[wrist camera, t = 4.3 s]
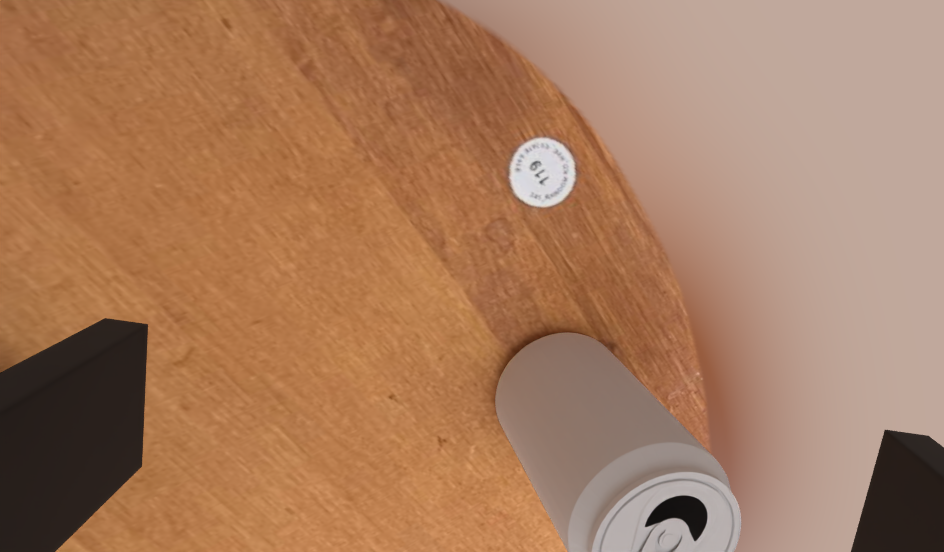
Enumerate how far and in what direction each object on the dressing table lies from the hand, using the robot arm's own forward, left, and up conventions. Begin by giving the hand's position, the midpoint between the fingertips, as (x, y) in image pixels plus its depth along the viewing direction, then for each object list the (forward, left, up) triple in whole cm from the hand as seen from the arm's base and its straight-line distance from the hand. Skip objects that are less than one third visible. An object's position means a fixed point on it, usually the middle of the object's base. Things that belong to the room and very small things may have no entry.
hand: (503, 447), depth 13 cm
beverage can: (+4, +12, -20) cm, 24 cm away
